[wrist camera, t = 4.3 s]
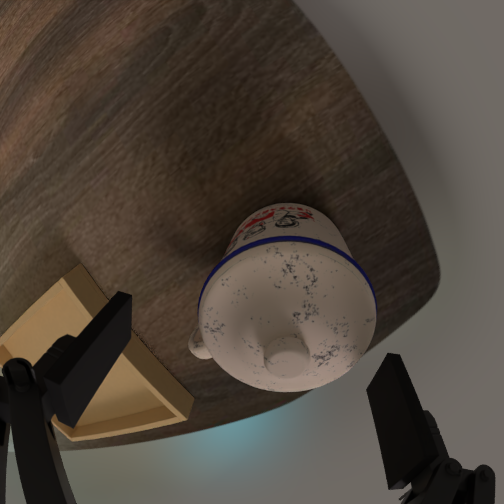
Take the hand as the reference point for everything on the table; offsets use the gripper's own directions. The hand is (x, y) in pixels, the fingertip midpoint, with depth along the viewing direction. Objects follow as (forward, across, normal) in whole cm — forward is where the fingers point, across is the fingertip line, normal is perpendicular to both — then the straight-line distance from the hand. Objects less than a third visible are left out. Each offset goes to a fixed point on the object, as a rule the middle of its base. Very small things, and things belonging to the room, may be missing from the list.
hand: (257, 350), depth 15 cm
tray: (+10, -18, -18) cm, 28 cm away
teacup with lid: (+10, 0, 0) cm, 10 cm away
